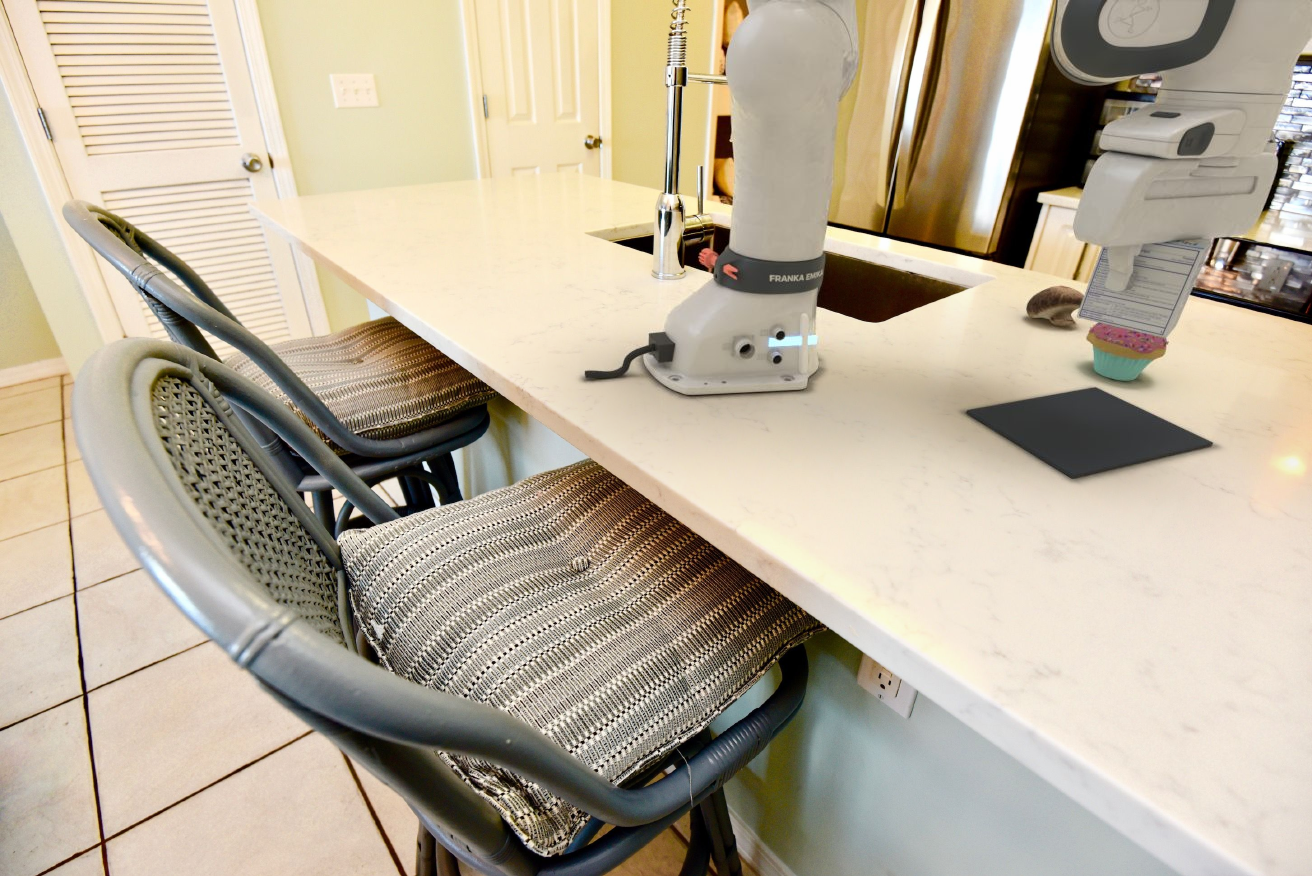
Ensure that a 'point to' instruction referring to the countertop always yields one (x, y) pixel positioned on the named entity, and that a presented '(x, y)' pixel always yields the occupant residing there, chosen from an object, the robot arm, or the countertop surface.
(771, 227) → the robot arm
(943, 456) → the countertop surface
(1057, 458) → the cloth
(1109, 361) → the cupcake
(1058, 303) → the mushroom
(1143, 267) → the medicine box
